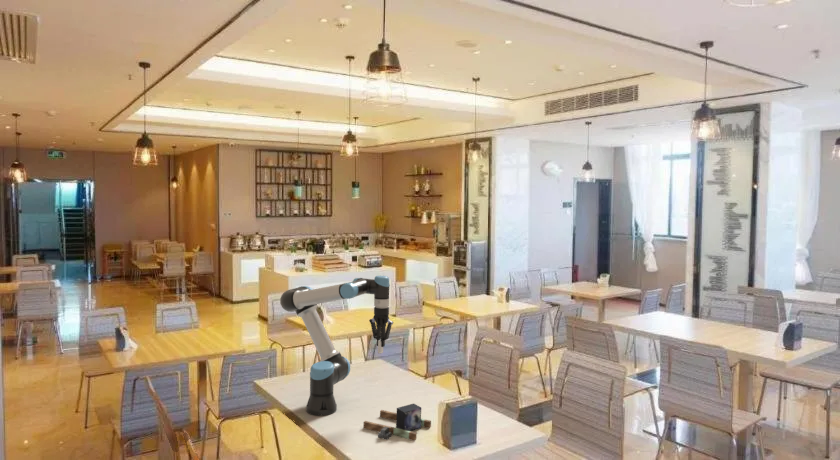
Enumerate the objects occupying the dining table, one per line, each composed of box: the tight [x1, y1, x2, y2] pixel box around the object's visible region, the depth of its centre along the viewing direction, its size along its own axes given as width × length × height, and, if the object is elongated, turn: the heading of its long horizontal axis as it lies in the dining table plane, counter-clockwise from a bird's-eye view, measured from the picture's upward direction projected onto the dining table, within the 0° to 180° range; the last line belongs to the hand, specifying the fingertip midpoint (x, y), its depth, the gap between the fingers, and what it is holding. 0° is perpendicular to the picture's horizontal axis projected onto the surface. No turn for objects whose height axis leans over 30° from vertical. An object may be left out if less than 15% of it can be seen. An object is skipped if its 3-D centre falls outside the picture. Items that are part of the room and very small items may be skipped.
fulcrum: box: [377, 425, 393, 440], centre depth 262 cm, size 5×4×4 cm
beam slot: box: [362, 409, 432, 441], centre depth 273 cm, size 27×17×3 cm, turn 64°
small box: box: [395, 403, 422, 432], centre depth 271 cm, size 11×6×10 cm, turn 130°
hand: (380, 352), depth 293 cm, fingers closed
